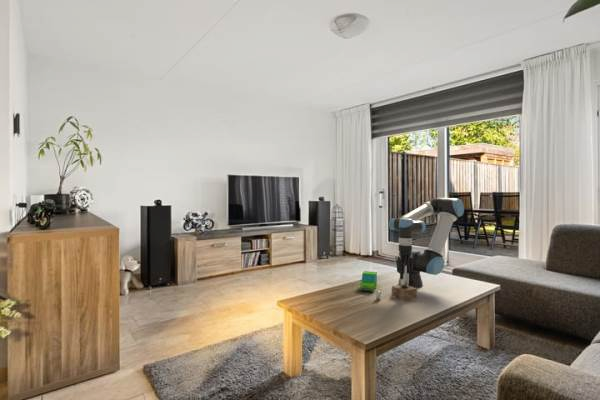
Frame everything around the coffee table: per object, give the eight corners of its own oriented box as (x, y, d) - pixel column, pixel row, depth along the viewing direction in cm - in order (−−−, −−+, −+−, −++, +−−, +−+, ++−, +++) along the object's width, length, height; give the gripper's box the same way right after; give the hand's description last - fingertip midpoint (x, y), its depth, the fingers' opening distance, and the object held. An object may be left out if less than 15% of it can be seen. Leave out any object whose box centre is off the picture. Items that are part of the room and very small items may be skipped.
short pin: (375, 299, 196) (375, 291, 196) (378, 299, 197) (378, 290, 197) (378, 301, 194) (378, 292, 193) (381, 300, 195) (381, 291, 195)
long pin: (401, 291, 201) (401, 264, 200) (404, 290, 202) (404, 264, 201) (404, 292, 199) (404, 265, 198) (407, 292, 200) (407, 265, 199)
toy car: (358, 291, 210) (358, 275, 210) (362, 285, 223) (362, 270, 222) (374, 293, 207) (374, 277, 206) (378, 287, 219) (378, 272, 218)
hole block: (391, 295, 203) (392, 286, 202) (404, 293, 207) (404, 283, 207) (403, 301, 194) (404, 290, 193) (416, 298, 198) (417, 288, 198)
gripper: (399, 246, 192) (399, 287, 193) (419, 244, 199) (418, 284, 200) (390, 244, 199) (390, 284, 200) (410, 242, 205) (409, 280, 207)
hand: (404, 283), depth 200 cm, fingers closed on long pin, 2 cm apart
